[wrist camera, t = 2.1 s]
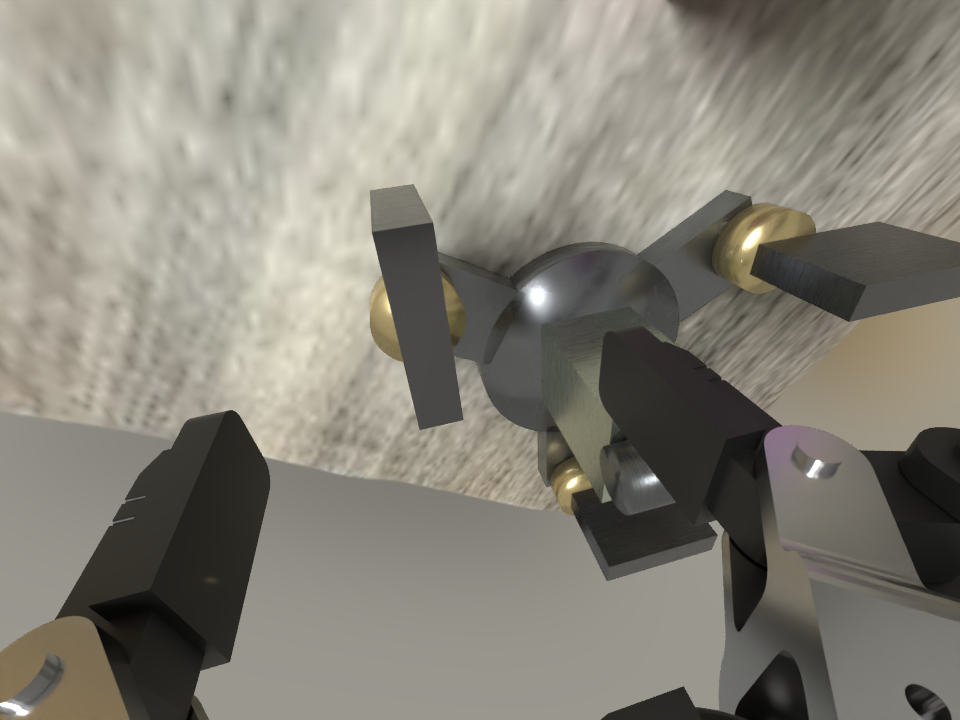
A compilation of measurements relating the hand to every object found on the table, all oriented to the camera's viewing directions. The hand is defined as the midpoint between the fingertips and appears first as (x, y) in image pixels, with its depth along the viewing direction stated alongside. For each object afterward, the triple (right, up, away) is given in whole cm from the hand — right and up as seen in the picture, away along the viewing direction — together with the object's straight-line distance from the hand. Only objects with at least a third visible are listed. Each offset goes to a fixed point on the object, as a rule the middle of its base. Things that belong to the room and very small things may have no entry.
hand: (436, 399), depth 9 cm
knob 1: (+11, -8, +25) cm, 29 cm away
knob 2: (+20, +9, +16) cm, 27 cm away
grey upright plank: (-3, +6, +12) cm, 14 cm away
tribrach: (+8, +1, +21) cm, 23 cm away
